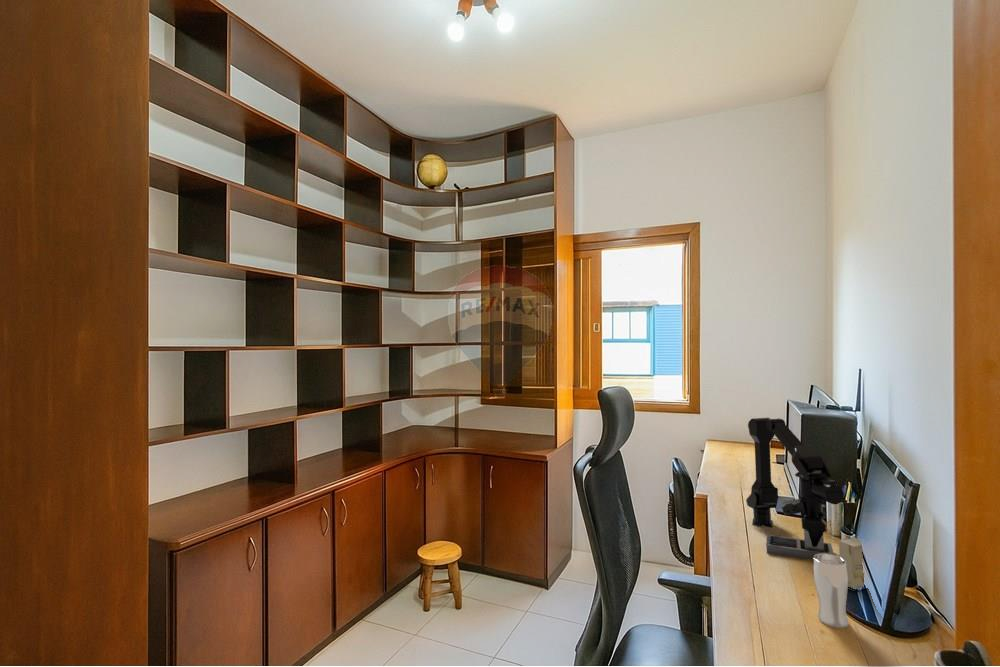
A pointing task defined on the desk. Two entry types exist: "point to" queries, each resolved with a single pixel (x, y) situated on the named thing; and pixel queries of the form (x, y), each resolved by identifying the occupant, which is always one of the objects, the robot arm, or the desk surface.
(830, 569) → the beer glass
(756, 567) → the desk surface
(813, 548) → the knobbed drawer box
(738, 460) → the desk surface
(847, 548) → the skincare box
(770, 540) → the two-cubby grey shelf
